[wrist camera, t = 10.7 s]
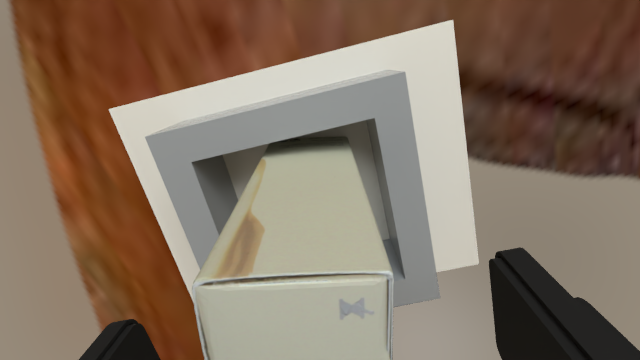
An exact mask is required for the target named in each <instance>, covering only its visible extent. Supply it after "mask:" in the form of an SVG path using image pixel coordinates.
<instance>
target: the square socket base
mask: <svg viewBox="0 0 640 360" xmlns="http://www.w3.org/2000/svg"><path fill="white" fill-rule="evenodd" d="M109 111H110V114H111V116H112V118H113V121H114V123H115V125H116V127H117V130H118V132H119V134H120V136H121V139H122V141H123V143H124V146H125V148H126V150H127V152H128V155H129V157H130V159H131V161H132V164H133V166H134V168H135V171H136V173H137V175H138V177H139V180H140V182H141V184H142V186H143V189H144V191H145V193H146V196H147V198H148V200H149V202H150V205H151V207H152V209H153V211H154V214H155V216H156V218H157V221H158V223H159V225H160V227H161V230H162V232H163V234H164V236H165V239H166V241H167V243H168V246H169V248H170V250H171V252H172V255H173V257H174V259H175V261H176V264H177V266H178V268H179V271H180V273H181V275H182V277H183V280H184V282H185V284H186V286H187V289H188V291H189V293H190V296H191V298H192V300H193V302H194V299H193V293H192V285H193V282H194V280H195V278H196V277H197V275H198V273H199V272H200V270H201V268H202V266H203V264H204V263H205V261H206V259H207V257H208V255H209V254H210V252H211V250H212V248H213V246H214V244H215V243H216V241H217V239H218V237H219V235H220V234H221V232H222V230H223V228H224V226H225V224H226V223H227V221H228V219H229V217H230V215H231V214H232V212H233V210H234V208H235V206H236V204H237V202H238V200H239V198H240V197H241V195H242V193H243V191H244V190H245V188H246V186H247V184H248V182H249V180H250V178H251V177H252V175H253V173H254V171H255V169H256V168H257V165H258V164H259V162H260V160H261V158H262V156H263V154H264V153H265V151H266V149H267V147H268V145H269V143H273V142H277V141H281V140H285V139H289V138H304V137H336V136H345V137H347V138H348V140H349V143H350V146H351V149H352V152H353V155H354V158H355V161H356V164H357V167H358V170H359V173H360V176H361V179H362V182H363V185H364V188H365V191H366V194H367V197H368V200H369V203H370V206H371V209H372V212H373V214H374V217H375V220H376V223H377V226H378V229H379V232H380V235H381V238H382V241H383V244H384V247H385V250H386V253H387V257H388V260H389V263H390V266H391V268H392V271H393V278H394V284H393V307H398V306H402V305H408V304H413V303H418V302H423V301H428V300H433V299H438V298H440V293H439V286H438V280H437V274H436V273H437V272H442V271H447V270H451V269H457V268H461V267H467V266H472V265H477V264H479V260H478V250H477V242H476V232H475V222H474V214H473V203H472V194H471V185H470V175H469V166H468V156H467V147H466V138H465V128H464V119H463V109H462V100H461V91H460V81H459V72H458V62H457V53H456V44H455V34H454V25H453V20H450V21H446V22H442V23H438V24H434V25H431V26H427V27H423V28H419V29H415V30H411V31H408V32H404V33H400V34H396V35H392V36H388V37H384V38H381V39H377V40H373V41H369V42H365V43H361V44H358V45H354V46H350V47H346V48H342V49H338V50H334V51H331V52H327V53H323V54H319V55H315V56H311V57H308V58H304V59H300V60H296V61H292V62H288V63H284V64H281V65H277V66H273V67H269V68H265V69H261V70H258V71H254V72H250V73H246V74H242V75H238V76H234V77H231V78H227V79H223V80H219V81H215V82H211V83H208V84H204V85H200V86H196V87H192V88H188V89H184V90H181V91H177V92H173V93H169V94H165V95H161V96H158V97H154V98H150V99H146V100H142V101H138V102H134V103H131V104H127V105H123V106H119V107H115V108H111V109H109Z"/></svg>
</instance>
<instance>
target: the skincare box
mask: <svg viewBox="0 0 640 360" xmlns="http://www.w3.org/2000/svg"><path fill="white" fill-rule="evenodd" d="M393 284H394V278H393V271H392V268H391V266H390V263H389V260H388V257H387V253H386V250H385V247H384V244H383V241H382V238H381V235H380V232H379V229H378V226H377V223H376V220H375V217H374V214H373V212H372V209H371V206H370V203H369V200H368V197H367V194H366V191H365V188H364V185H363V182H362V179H361V176H360V173H359V170H358V167H357V164H356V161H355V158H354V155H353V152H352V149H351V146H350V143H349V140H348V138H347V137H345V136H336V137H304V138H289V139H285V140H281V141H277V142H273V143H269V145H268V147H267V149H266V151H265V153H264V154H263V156H262V158H261V160H260V162H259V164H258V165H257V168H256V169H255V171H254V173H253V175H252V177H251V178H250V180H249V182H248V184H247V186H246V188H245V190H244V191H243V193H242V195H241V197H240V198H239V200H238V202H237V204H236V206H235V208H234V210H233V212H232V214H231V215H230V217H229V219H228V221H227V223H226V224H225V226H224V228H223V230H222V232H221V234H220V235H219V237H218V239H217V241H216V243H215V244H214V246H213V248H212V250H211V252H210V254H209V255H208V257H207V259H206V261H205V263H204V264H203V266H202V268H201V270H200V272H199V273H198V275H197V277H196V278H195V280H194V282H193V285H192V293H193V299H194V308H195V313H196V319H197V325H198V330H199V336H200V341H201V345H202V351H203V355H204V359H205V360H392V359H393V357H392V356H393V355H392V353H393V351H392V350H393V348H392V347H393V346H392V345H393Z"/></svg>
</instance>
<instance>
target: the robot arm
mask: <svg viewBox="0 0 640 360" xmlns="http://www.w3.org/2000/svg"><path fill="white" fill-rule="evenodd" d="M489 269H490V280H491V291H492V301H493V312H494V324H495V334H496V343H497V348H498V351H499V354H500V356H501V358H502V360H640V351H639V350H638V349H637V348H636V347H635V346H633V344H631V343H630V342H629V341H628V340H627V339H626V338H625V337H624V336H623V335H622V334H621V333H620V332H619V331H618V330H617V329H616V328H615V327H614V326H613V325H611V324H610V323H609V322H608V321H607V320H606V319H605V318H604V317H603V316H602V315H601V314H600V313H599V312H598V311H597V310H596V309H595V308H594V307H593V306H592V305H591V304H589V303H588V302H587V301H585V300H584V299H582V298H579V297H577V298H573V297H572V296H571V295H570V294H569V293H568V292H567V291H566V290H565V289H564V288H563V287H562V286H561V285H560V284H559V283H558V282H557V281H556V280H555V279H554V278H553V277H552V276H551V275H550V274H549V273H548V272H547V271H546V270H545V269H544V268H543V267H542V266H541V265H540V264H539V263H538V262H537V261H536V260H535V259H534V258H533V257H532V256H531V255H530V254H529V253H528V252H527V251H525V250H524V249H523V248H515V249H510V250H504V251H499V252H497V253H496V255H495V259H490V261H489ZM79 360H160V358H159V356H158V354H157V352H156V350H155V348H154V346H153V344H152V342H151V340H150V338H149V336H148V334H147V333H146V331H145V329H144V327H143V326H142V325H141V324H138V322H137V321H136V320H134V319H129V320H124V321H118V322H113V323H111V324H109V325H108V326H107V327H106V328H105V329H104V330H103V331H102V333H101V334H100V335H99V336H98V337H97V339H96V340H95V341H94V342H93V343H92V344H91V346H90V347H89V348H88V349H87V350H86V352H85V353H84V354H83V355H82V356H81V358H80V359H79Z"/></svg>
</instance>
